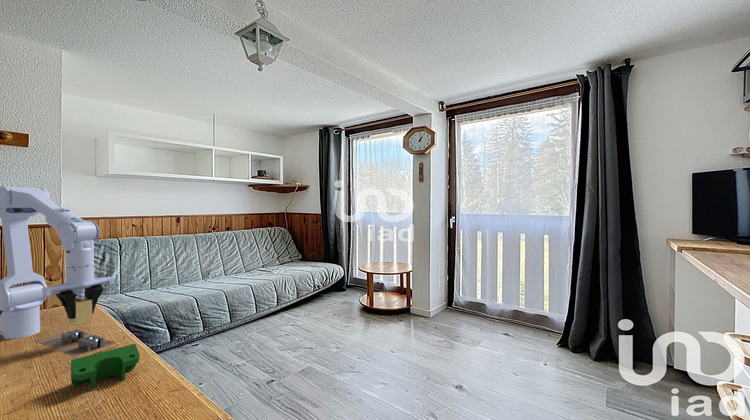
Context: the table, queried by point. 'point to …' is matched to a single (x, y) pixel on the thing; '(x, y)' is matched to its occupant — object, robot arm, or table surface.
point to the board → (70, 345)
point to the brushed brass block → (82, 311)
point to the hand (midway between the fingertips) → (80, 315)
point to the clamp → (104, 365)
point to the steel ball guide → (82, 340)
